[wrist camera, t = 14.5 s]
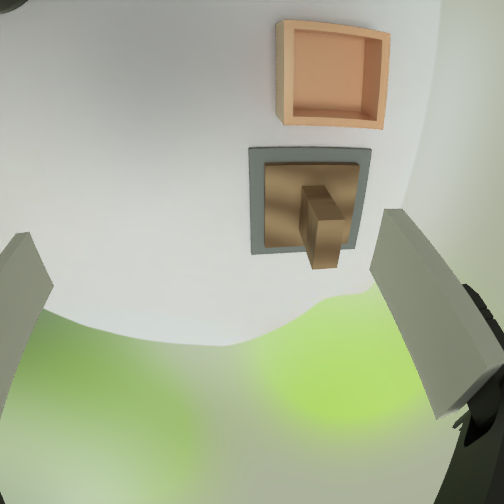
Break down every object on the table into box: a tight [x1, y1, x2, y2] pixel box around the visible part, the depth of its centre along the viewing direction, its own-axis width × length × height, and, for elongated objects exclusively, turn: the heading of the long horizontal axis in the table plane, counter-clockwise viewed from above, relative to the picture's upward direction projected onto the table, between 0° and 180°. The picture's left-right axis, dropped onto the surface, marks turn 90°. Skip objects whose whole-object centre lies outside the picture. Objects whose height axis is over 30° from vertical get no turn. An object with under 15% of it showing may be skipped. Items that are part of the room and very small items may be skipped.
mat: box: [249, 147, 372, 255], centre depth 44 cm, size 17×17×1 cm
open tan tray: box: [276, 20, 390, 130], centre depth 31 cm, size 12×12×6 cm
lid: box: [264, 162, 360, 269], centre depth 40 cm, size 13×13×10 cm
